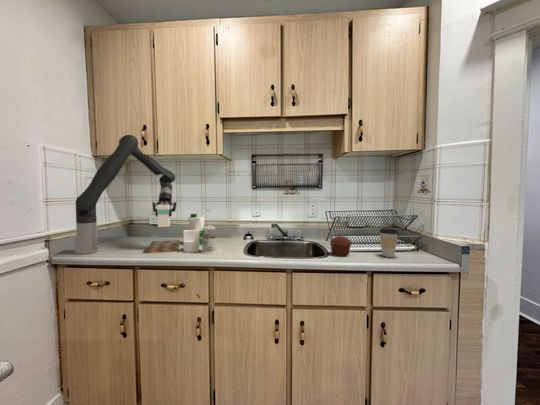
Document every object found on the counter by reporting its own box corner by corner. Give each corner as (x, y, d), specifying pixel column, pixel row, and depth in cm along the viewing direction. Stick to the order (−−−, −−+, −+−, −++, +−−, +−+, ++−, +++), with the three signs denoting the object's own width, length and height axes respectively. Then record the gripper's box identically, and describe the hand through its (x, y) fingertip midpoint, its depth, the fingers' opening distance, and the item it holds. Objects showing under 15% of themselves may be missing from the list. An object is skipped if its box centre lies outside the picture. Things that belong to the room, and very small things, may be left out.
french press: (212, 254, 134) (211, 209, 133) (194, 252, 137) (193, 209, 136) (220, 250, 143) (220, 208, 142) (203, 248, 147) (203, 208, 146)
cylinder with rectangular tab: (200, 248, 149) (200, 229, 148) (198, 251, 140) (198, 231, 139) (185, 248, 147) (185, 229, 147) (182, 252, 138) (181, 231, 138)
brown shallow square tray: (147, 253, 137) (147, 246, 136) (152, 246, 152) (152, 241, 152) (177, 251, 141) (177, 244, 141) (179, 245, 156) (179, 239, 156)
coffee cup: (383, 253, 138) (384, 227, 137) (400, 256, 130) (401, 229, 130) (375, 255, 132) (375, 228, 131) (392, 259, 125) (393, 230, 124)
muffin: (326, 255, 133) (327, 237, 133) (333, 251, 142) (333, 234, 142) (348, 258, 127) (349, 239, 126) (353, 253, 136) (354, 236, 136)
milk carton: (194, 242, 166) (193, 213, 165) (206, 242, 164) (206, 213, 163) (187, 245, 157) (186, 214, 156) (200, 245, 155) (199, 214, 155)
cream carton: (157, 227, 142) (157, 203, 141) (159, 225, 148) (158, 203, 147) (168, 226, 144) (168, 203, 143) (170, 225, 150) (169, 202, 149)
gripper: (152, 191, 150) (149, 212, 139) (177, 191, 154) (175, 211, 143) (154, 200, 155) (151, 220, 145) (177, 199, 160) (176, 219, 149)
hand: (163, 216), depth 144 cm, fingers closed on cream carton, 6 cm apart
